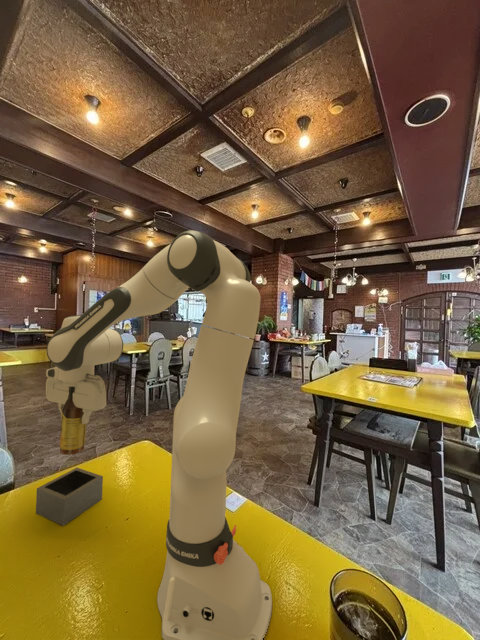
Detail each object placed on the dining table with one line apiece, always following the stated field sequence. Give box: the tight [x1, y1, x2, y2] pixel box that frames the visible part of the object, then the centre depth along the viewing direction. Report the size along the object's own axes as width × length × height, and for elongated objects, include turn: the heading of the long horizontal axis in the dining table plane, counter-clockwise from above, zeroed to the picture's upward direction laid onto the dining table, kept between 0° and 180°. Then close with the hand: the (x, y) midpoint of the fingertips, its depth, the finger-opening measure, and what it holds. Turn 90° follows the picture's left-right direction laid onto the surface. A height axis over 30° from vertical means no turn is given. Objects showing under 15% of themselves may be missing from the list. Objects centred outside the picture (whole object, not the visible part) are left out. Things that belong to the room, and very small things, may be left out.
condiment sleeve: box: [35, 467, 104, 527], centre depth 80 cm, size 11×12×7 cm
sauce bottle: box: [59, 387, 87, 455], centre depth 80 cm, size 7×6×20 cm
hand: (74, 420), depth 80 cm, fingers closed on sauce bottle, 6 cm apart
